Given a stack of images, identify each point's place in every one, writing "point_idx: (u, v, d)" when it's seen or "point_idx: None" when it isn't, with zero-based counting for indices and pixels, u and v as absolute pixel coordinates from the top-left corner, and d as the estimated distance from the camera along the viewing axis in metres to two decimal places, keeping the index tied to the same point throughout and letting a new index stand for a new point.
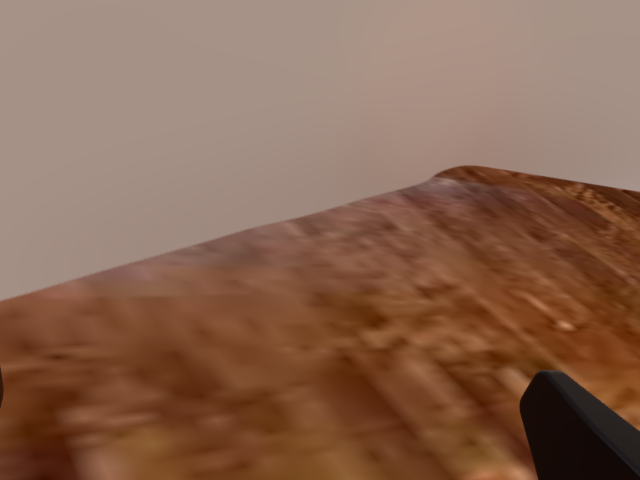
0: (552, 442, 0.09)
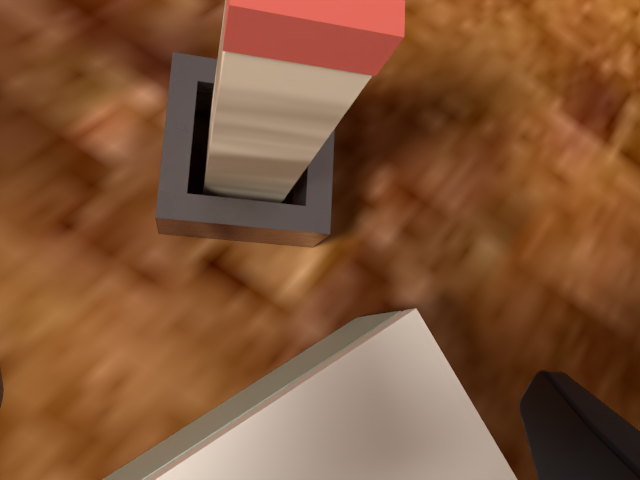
0: (552, 442, 0.09)
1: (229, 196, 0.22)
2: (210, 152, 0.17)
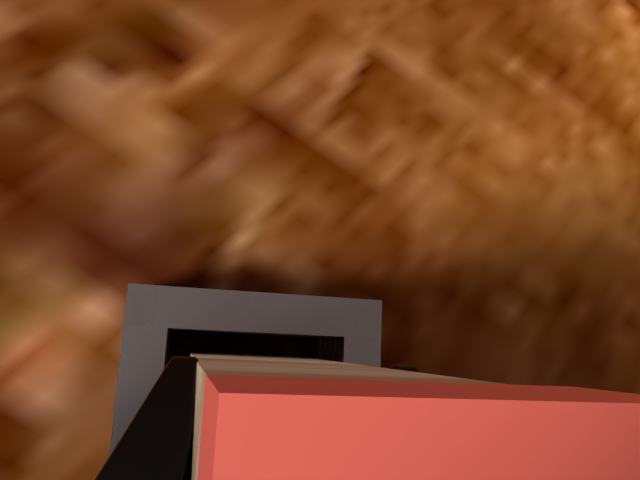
0: None
1: None
2: None
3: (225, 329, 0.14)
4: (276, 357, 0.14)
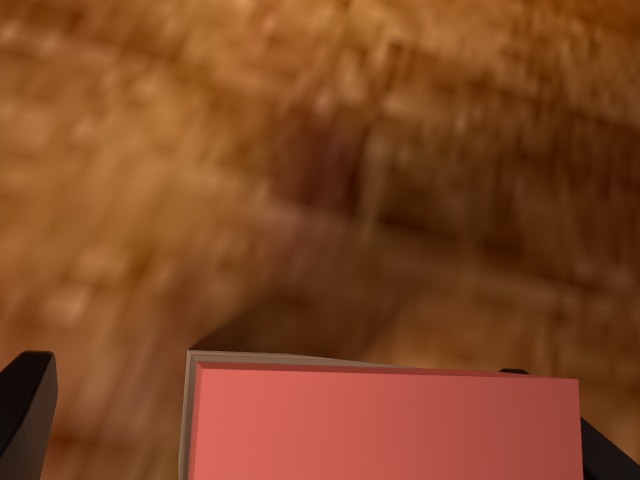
0: None
1: None
2: None
3: None
4: None
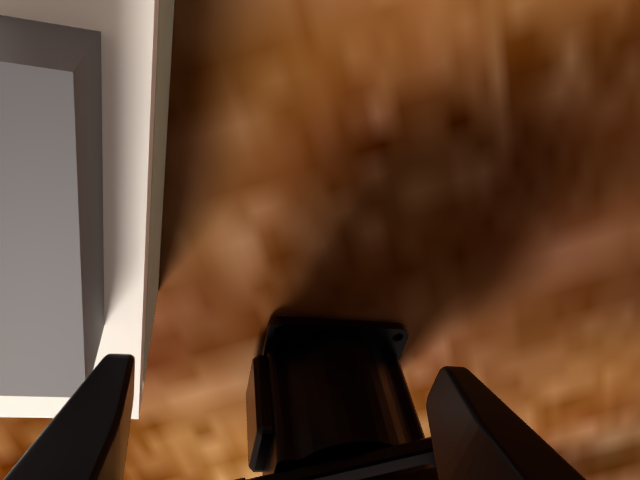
0: (450, 441, 0.09)
1: None
2: None
3: None
4: None
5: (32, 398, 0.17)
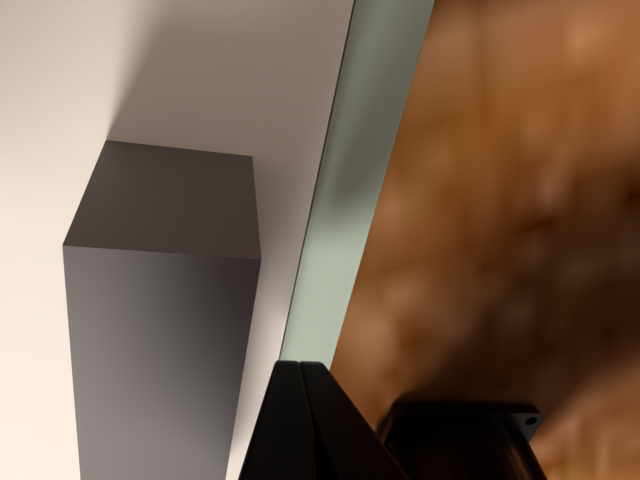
0: None
1: None
2: None
3: None
4: None
5: None
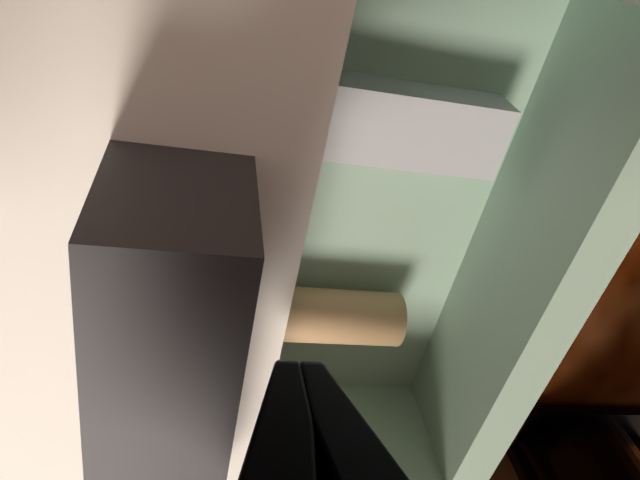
0: None
1: None
2: None
3: None
4: None
5: None
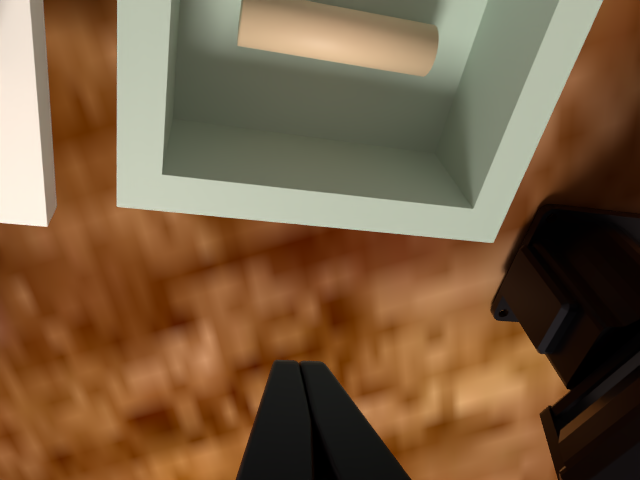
0: None
1: None
2: None
3: None
4: None
5: None
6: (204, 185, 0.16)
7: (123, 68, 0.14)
